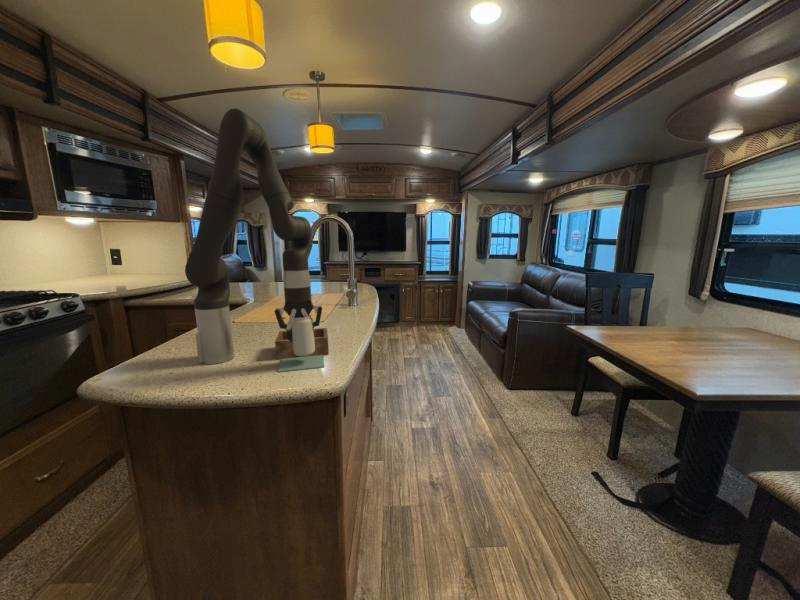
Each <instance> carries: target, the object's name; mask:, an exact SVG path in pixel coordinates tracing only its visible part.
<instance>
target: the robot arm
mask: <svg viewBox="0 0 800 600" xmlns="http://www.w3.org/2000/svg"><path fill="white" fill-rule="evenodd" d="M217 137H218V139H217V146H216V151H215V159H214V164H213V169H212V172H211V177H210V182H209V185H208V188H207V191H206V195H205V199H204V204H203V209H202V212H201V217H200V221H199V224H198V227H197V228H198V229H197V234H196V237H195V240H194V242H193V246H192V248H191V251H190V253H189V256H188V258H187V259H186V260H187V261H186V263H185V267H184V268H185V269H184V272H185V276H186V279H187V281H188V282H189V283H190V284H191V285H193V286H195V287H197V293H196V296H195V298H194V300H193V306H194V307H193V308H194V312H195V313H194V314H195V320H196V321H195V322H196V328H197V329H196V330H197V332H196V333H195V342H196V350H197V357H198V364H206V365H215V364H221V363H225V362H229V361H230V360H232V359H234V358H235V349H234V339H233V330H232V320H231V314H230V313H231V312H230V303H229V302H230V301H229V300H230V296H231V290H230V288H231V287H230V273H229V269H228V265H227V263H226V262H225V260H223V259H222V258H221V256H222V252H223V248H224V245H225V242H226V240H227V238H228V237H229V235H230V234H231V233H232V231H233V229H234V227H235V226H236V224H237V222H238V220H239V216H240V215H241V209H242V207H243V201H244V189H243V188H244V187H243V182H242V177H241V175H240V174H241V172H240V160H241V157H242V153H243V152H245V153H246V154H247V156H249V158H250V160H251V161H252V162H253V164H254V166H255V168H256V171H257V184H258V188H259V190H260V192H261V195H262V197H263V200H264V202H265V203H266V205H267V207H268V210H269V214H270V221H271V225H272V227H271V228H272V229H273V232H274V234H275V235H276V236H277V238H279V239H280V240H282V241H286V242H291V246H290V248H288V249H286V250H284V251H283V253H282V268H283V274H282V275H283V276H282V279H283V280H282V281H283V293H284V305H283V307H279V308H278V307H277V308H275V310H274V314H275V317H276V320H277V323H278V326H279V328H280V329H283V330H285V331H287V339H288V340H290V342H293V341H292V330H291V326H292V325H291V323H292V322H293V320H294V319H293V318H297V317H301V318H303V317H304V318H305V317H309V316H308V315H309V314H310V315H311V313H312V311H313V310H314V313H315V314H316V316H315V320H314V321H313V324H312V328H313V329H315V327H319V326H320V323H321V318H322V312H323V307H322V305H314V303H313V302H312V290H311V284H312V283H311V276H310V270H309V257H308V255H309V251H310V246H311V242H312V235H313V233H312V226H311V224H310V221H309V220H308V219H307V218H306V217H303V216H297V215H290V213H289V212H290V211H291V210H292V209H293V208H294V204H295V203H294V201H293V198H292V196H291V194H290V192H289V190H288V188H287V186H286V184H285V182H284V181H283V180H284V179H282V176H281V174H280V172H279V168H278V167H277V164H276V161H275V158H274V155H273V152H272V150H271V146H270V143H269V140H268V136H267V134H266V132H265V129H264V128H263V126H262V125H261V124H259V122H257V121H256V120H255V119H253V118H252V117H251V116H249V115H248V114H247V113H245V112H244V111H243V110H242V109H239V108H231V109H228V110H227V111H226V112H225V113H224V115H223V117H222V119H221V122H220V125H219V131H218V136H217ZM284 312H286V314H287V315H288V316H289V318H288V321H287V322H288V323H285V321H284V318H283V314H284ZM309 319H310V318H309ZM313 334H314V331H313Z"/></svg>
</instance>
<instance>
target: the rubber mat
mask: <svg viewBox="0 0 800 600" xmlns="http://www.w3.org/2000/svg"><path fill="white" fill-rule="evenodd" d="M322 368H323V369H324V368H325V355H317V356H306V357H296V358H285V359H280V363H279V367H278V369H277V373H285V372H294V371H305V370H314V369H322Z"/></svg>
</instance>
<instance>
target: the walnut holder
mask: <svg viewBox="0 0 800 600" xmlns="http://www.w3.org/2000/svg"><path fill="white" fill-rule="evenodd" d="M313 330H314V342H315V351H314V352H313V354H311V355H308V356H317V355H324V356H328V355H330V354H329V353H330V350H329V336H328V335H329V334H328V328H327V327H320V328H319V327H318V328H313ZM274 344H275V345H274V346H275V355H276V356H275V358H276V360H282V359H285V358H296V357H306V356H297V355H296V354H294V351H293V342H290V340H288V339H287V330H280V331H279V332H278V334H277V336H276V339H275V341H274Z"/></svg>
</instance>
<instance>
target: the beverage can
mask: <svg viewBox="0 0 800 600" xmlns="http://www.w3.org/2000/svg"><path fill="white" fill-rule="evenodd" d="M308 316H309V317H305V318H304V317H303V318H301V317H297V318H293V319H294V320H293V322H292V323H291V325H292V326H291V330H292V341H293V351H294V354H296V355H297V356H308V355H311V354H313V352H314V351H315V342H314V334H313V331H314V330H313V329H314V328H312V324H313V322H314V320H313V318H312V315H311V313H310V314H309V315H308ZM309 318H310V319H309Z"/></svg>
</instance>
